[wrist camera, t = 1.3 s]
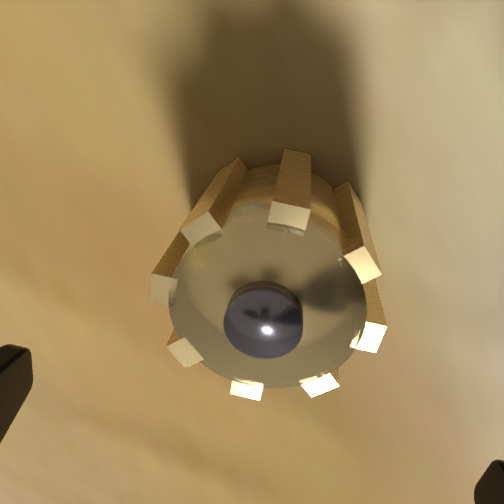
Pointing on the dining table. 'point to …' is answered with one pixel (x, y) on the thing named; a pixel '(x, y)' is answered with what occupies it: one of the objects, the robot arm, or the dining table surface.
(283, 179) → the gear
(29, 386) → the robot arm
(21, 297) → the dining table surface
